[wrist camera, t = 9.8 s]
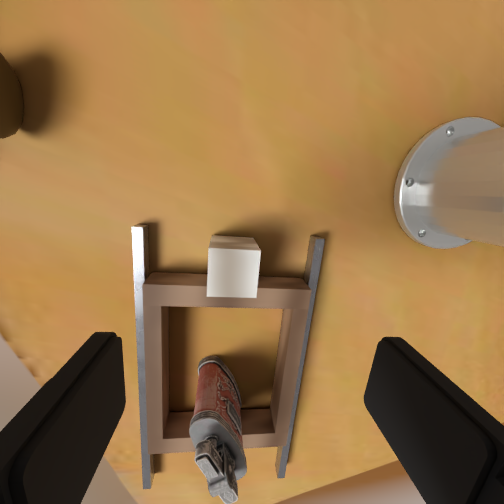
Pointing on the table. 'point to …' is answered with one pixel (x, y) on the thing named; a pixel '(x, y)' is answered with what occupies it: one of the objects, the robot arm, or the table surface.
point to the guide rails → (140, 276)
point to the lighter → (218, 429)
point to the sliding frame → (231, 296)
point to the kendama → (9, 100)
